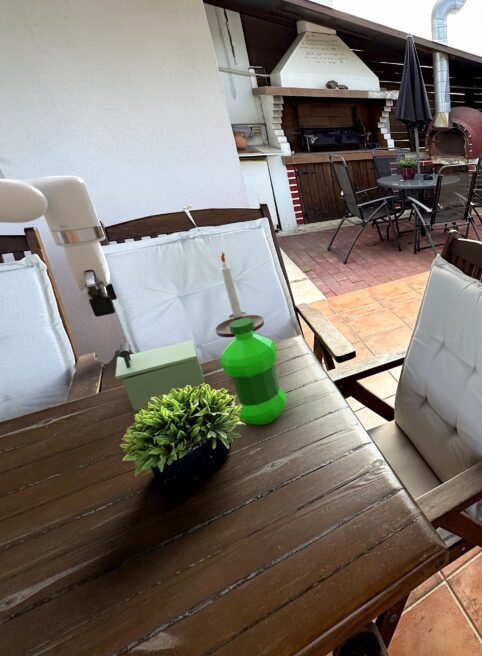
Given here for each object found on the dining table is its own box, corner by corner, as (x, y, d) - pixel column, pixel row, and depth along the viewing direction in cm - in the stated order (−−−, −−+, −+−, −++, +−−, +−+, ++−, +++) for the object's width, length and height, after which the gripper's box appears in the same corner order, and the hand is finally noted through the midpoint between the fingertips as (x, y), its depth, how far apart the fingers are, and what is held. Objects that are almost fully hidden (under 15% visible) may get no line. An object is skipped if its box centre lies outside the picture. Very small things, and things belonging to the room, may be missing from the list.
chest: (134, 411, 95) (122, 380, 92) (134, 390, 103) (123, 361, 100) (206, 387, 104) (197, 358, 101) (202, 370, 112) (193, 342, 109)
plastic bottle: (228, 428, 90) (198, 331, 81) (265, 399, 100) (242, 309, 91) (265, 436, 88) (239, 337, 79) (300, 406, 98) (279, 314, 89)
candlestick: (280, 367, 113) (253, 249, 101) (237, 386, 105) (202, 260, 93) (264, 355, 119) (237, 242, 107) (222, 371, 111) (187, 251, 99)
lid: (116, 379, 92) (109, 358, 90) (118, 360, 99) (112, 340, 97) (197, 358, 101) (192, 339, 99) (193, 342, 109) (189, 324, 107)
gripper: (59, 230, 89) (87, 300, 95) (46, 247, 77) (79, 325, 83) (105, 225, 94) (129, 292, 100) (100, 240, 82) (128, 315, 88)
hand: (107, 307), depth 91 cm, fingers open, 9 cm apart
